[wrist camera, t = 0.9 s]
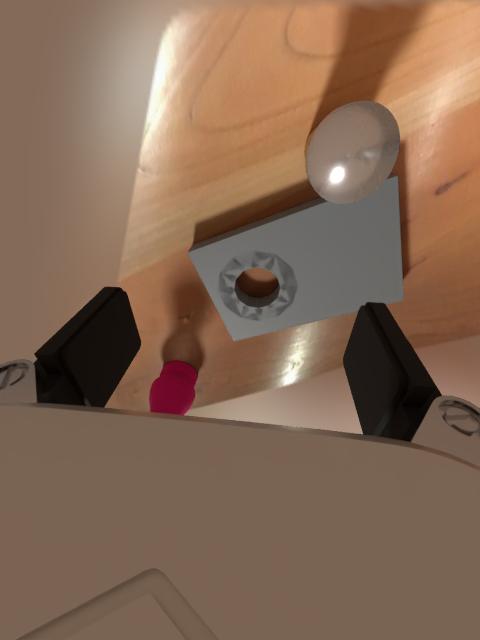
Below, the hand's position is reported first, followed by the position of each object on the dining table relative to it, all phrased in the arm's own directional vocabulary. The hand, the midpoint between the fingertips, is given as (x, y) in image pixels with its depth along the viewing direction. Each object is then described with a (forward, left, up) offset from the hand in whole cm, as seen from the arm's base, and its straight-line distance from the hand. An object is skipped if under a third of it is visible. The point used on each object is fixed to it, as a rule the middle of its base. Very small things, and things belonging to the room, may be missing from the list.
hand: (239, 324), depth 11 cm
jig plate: (-2, +9, -22) cm, 24 cm away
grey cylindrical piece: (-8, -2, -22) cm, 24 cm away
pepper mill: (+22, +22, -22) cm, 38 cm away
